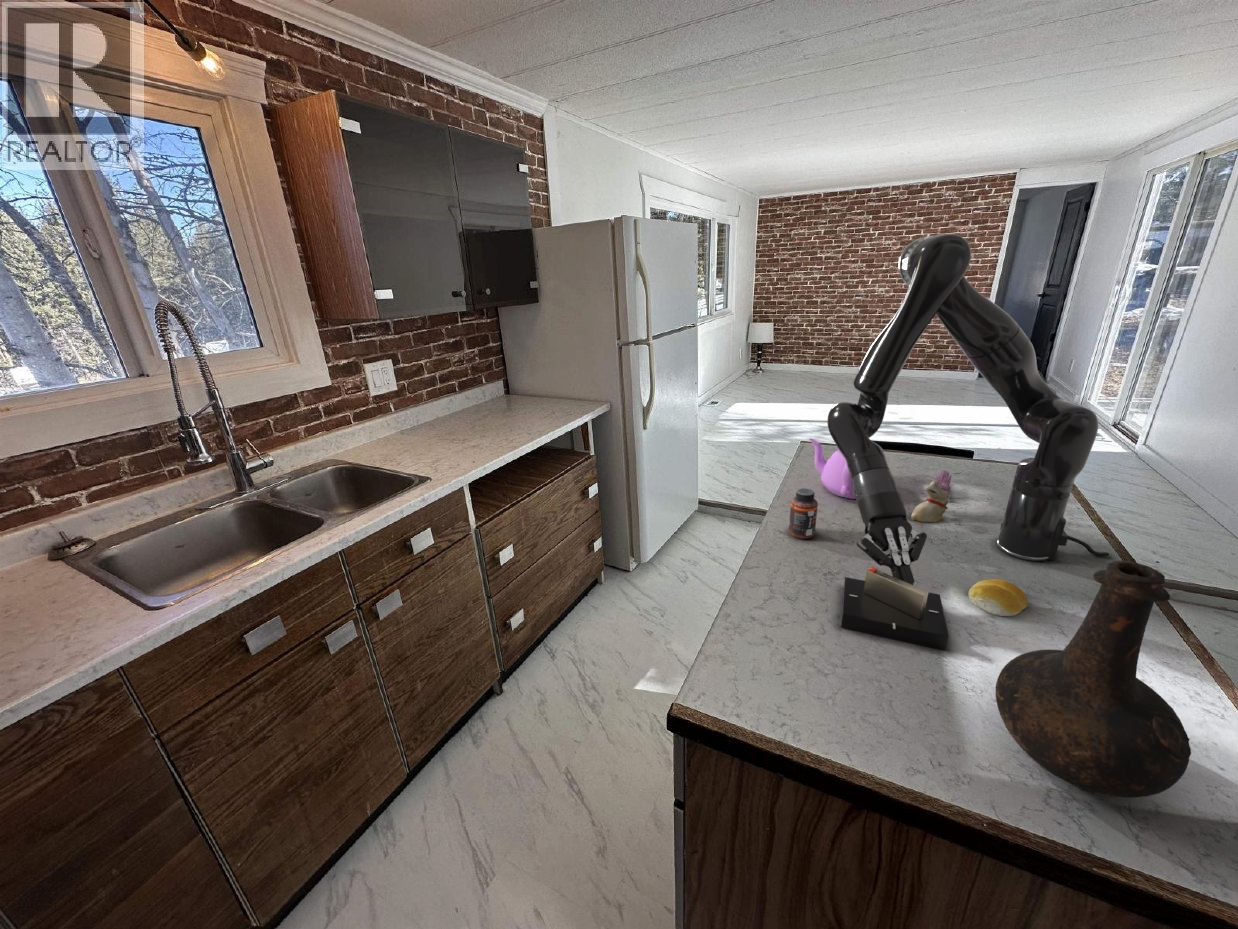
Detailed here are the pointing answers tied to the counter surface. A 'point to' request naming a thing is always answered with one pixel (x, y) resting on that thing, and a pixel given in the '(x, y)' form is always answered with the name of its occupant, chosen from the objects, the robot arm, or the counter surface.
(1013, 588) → the bread roll
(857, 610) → the black square dial panel
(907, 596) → the red-tipped beige bar
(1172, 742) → the brown mottled bulbous container
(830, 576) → the counter surface
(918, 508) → the chocolate bunny
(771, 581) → the counter surface
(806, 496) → the supplement bottle
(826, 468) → the teapot
